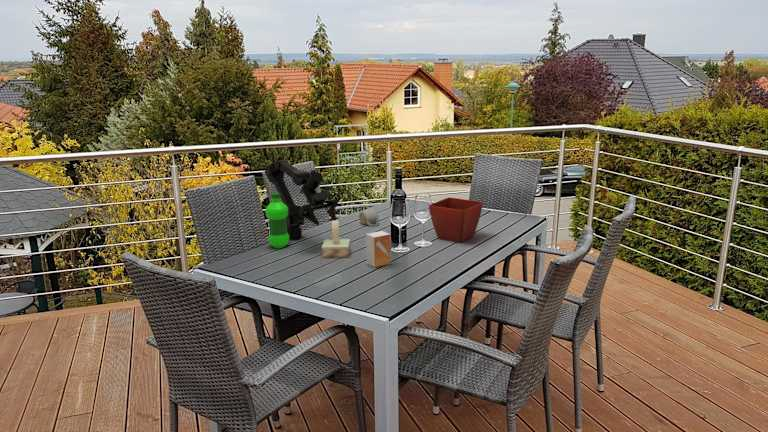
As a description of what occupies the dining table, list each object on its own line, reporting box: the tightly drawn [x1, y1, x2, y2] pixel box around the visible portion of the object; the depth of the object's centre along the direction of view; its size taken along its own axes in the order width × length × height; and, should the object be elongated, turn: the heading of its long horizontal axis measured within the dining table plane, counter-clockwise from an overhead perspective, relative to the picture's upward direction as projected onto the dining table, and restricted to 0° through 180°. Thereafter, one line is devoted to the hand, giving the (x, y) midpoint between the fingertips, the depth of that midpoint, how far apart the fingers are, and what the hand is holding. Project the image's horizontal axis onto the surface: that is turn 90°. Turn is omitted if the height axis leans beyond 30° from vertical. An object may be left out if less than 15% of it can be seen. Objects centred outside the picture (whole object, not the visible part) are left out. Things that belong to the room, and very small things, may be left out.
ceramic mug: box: [358, 208, 379, 227], centre depth 287 cm, size 11×8×8 cm
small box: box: [365, 230, 392, 268], centre depth 226 cm, size 8×6×13 cm
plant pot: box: [428, 197, 484, 244], centre depth 259 cm, size 19×19×17 cm
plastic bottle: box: [264, 192, 290, 249], centre depth 251 cm, size 10×10×25 cm
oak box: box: [321, 243, 351, 259], centre depth 242 cm, size 11×11×4 cm
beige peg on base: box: [321, 219, 351, 250], centre depth 240 cm, size 11×11×11 cm
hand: (327, 223), depth 243 cm, fingers open, 9 cm apart
